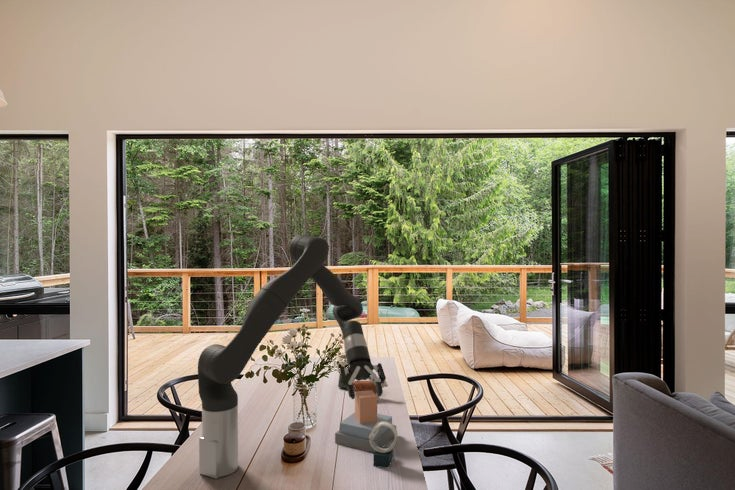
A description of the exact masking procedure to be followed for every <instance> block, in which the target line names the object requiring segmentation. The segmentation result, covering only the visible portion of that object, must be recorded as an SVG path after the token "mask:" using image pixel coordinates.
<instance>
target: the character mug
mask: <svg viewBox="0 0 735 490" xmlns="http://www.w3.org/2000/svg"><path fill="white" fill-rule="evenodd" d="M340 355H341V356H339V355H337V357H336V360H338V361H342V360H343V359H347V358H346V353H345V354H344V353H342V354H340ZM332 364H333V365H335V364H336V365H337V362H336V361H334V360H333V363H332ZM341 366H343V367H344V368H346V367H347V366H348V363H347V362H340V363H339V364H338V365H337V366H336V368H335V369H336V370H337V369H338V368H341ZM345 378H346V381H347V382H349V380H350V378H351V375H350V374H349V373H348V372H347V373H346V375H345ZM352 385H353V384H352ZM337 386H338V388H340V389H343V388H344V389H346V390H348V389H347V387H341V382H340V374H339V377H338V383H337Z"/></svg>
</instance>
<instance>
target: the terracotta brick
mask: <svg viewBox="0 0 735 490" xmlns="http://www.w3.org/2000/svg"><path fill="white" fill-rule="evenodd" d="M354 393H355V398H354V413H355V418H356V419H357V421H358V422H359V423H360V424H365V423H373V422H377V414H378V398H377V395H376V394H375V393H374V392H373V391H372V390H370V391H360V392H355V391H354Z"/></svg>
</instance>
